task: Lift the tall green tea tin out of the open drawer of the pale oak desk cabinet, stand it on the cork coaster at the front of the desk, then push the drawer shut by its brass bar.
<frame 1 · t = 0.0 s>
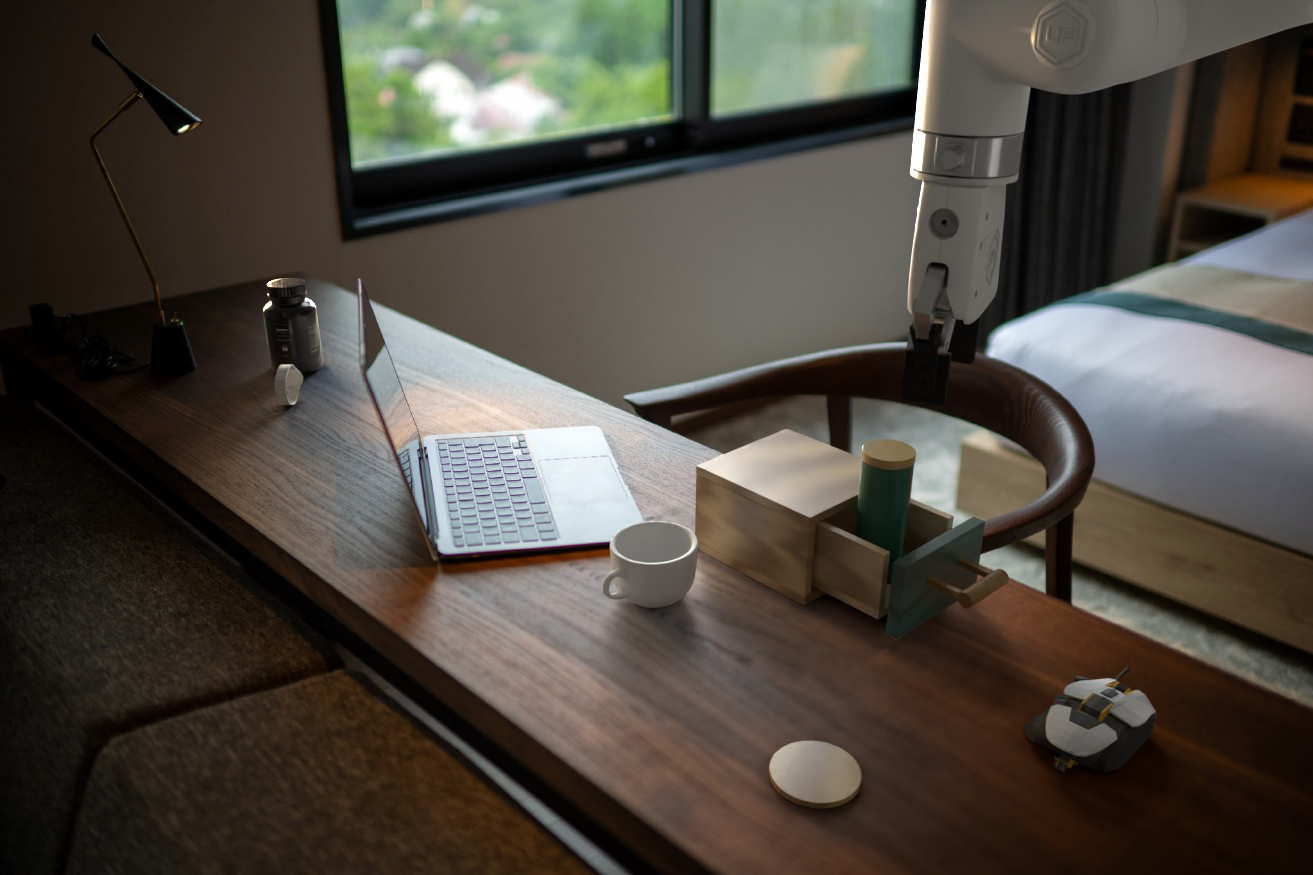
hand: (939, 380, 85), 22 cm above the table, tool pointing down, fingers open, 9 cm apart
cabinet: (792, 551, 105), on the table
drawer: (902, 560, 95), point 4 cm above the table, slide at 8.2 cm, touching tin
tin: (876, 572, 98), point 2 cm above the table, touching drawer
white thick rounded piece: (289, 405, 138), on the table
computer mouse: (1093, 729, 82), on the table
teacup: (645, 601, 98), on the table
supplement bottle: (298, 369, 150), on the table
coaster: (814, 776, 77), on the table
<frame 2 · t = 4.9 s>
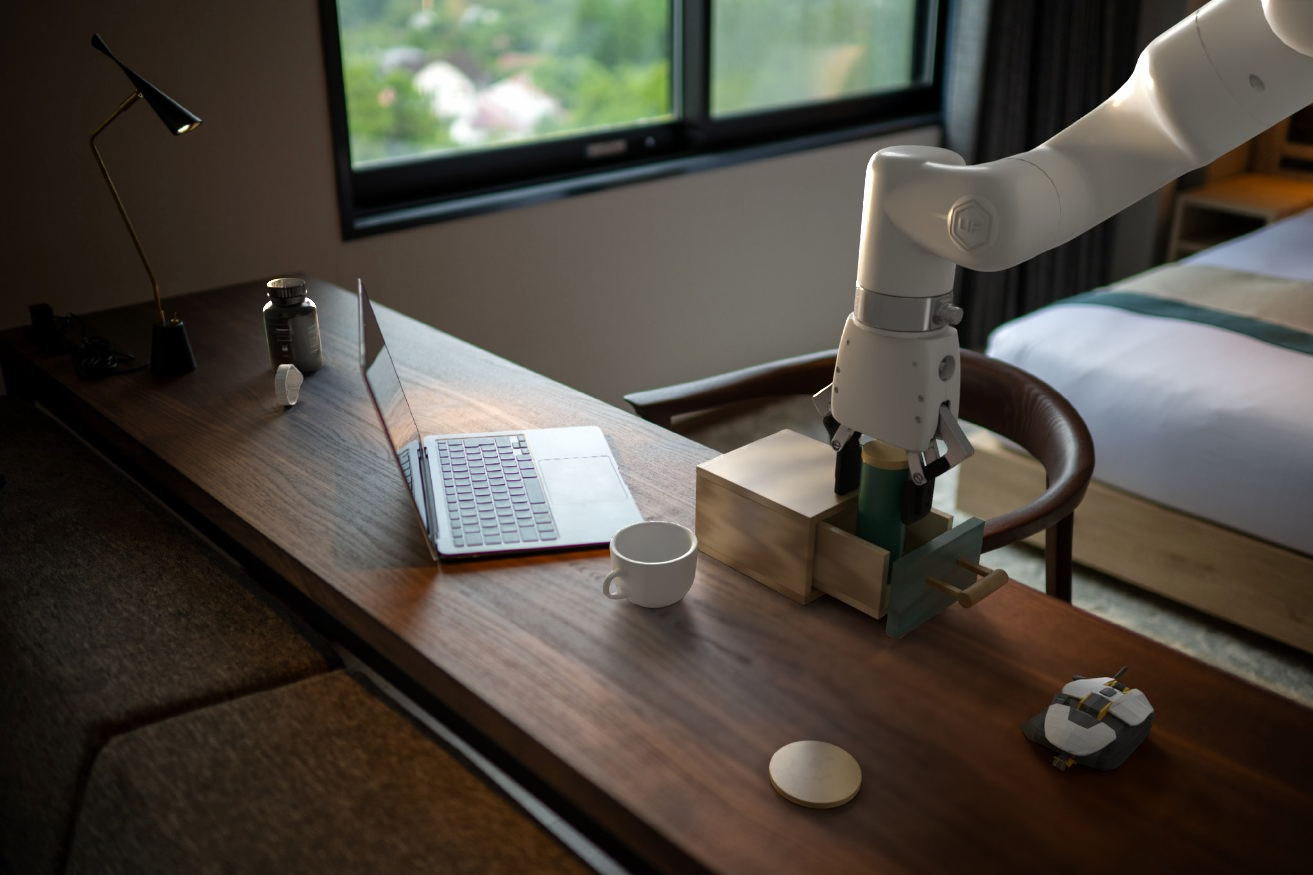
hand: (880, 502, 95), 9 cm above the table, tool pointing down, fingers open, 6 cm apart
nothing on the table moved.
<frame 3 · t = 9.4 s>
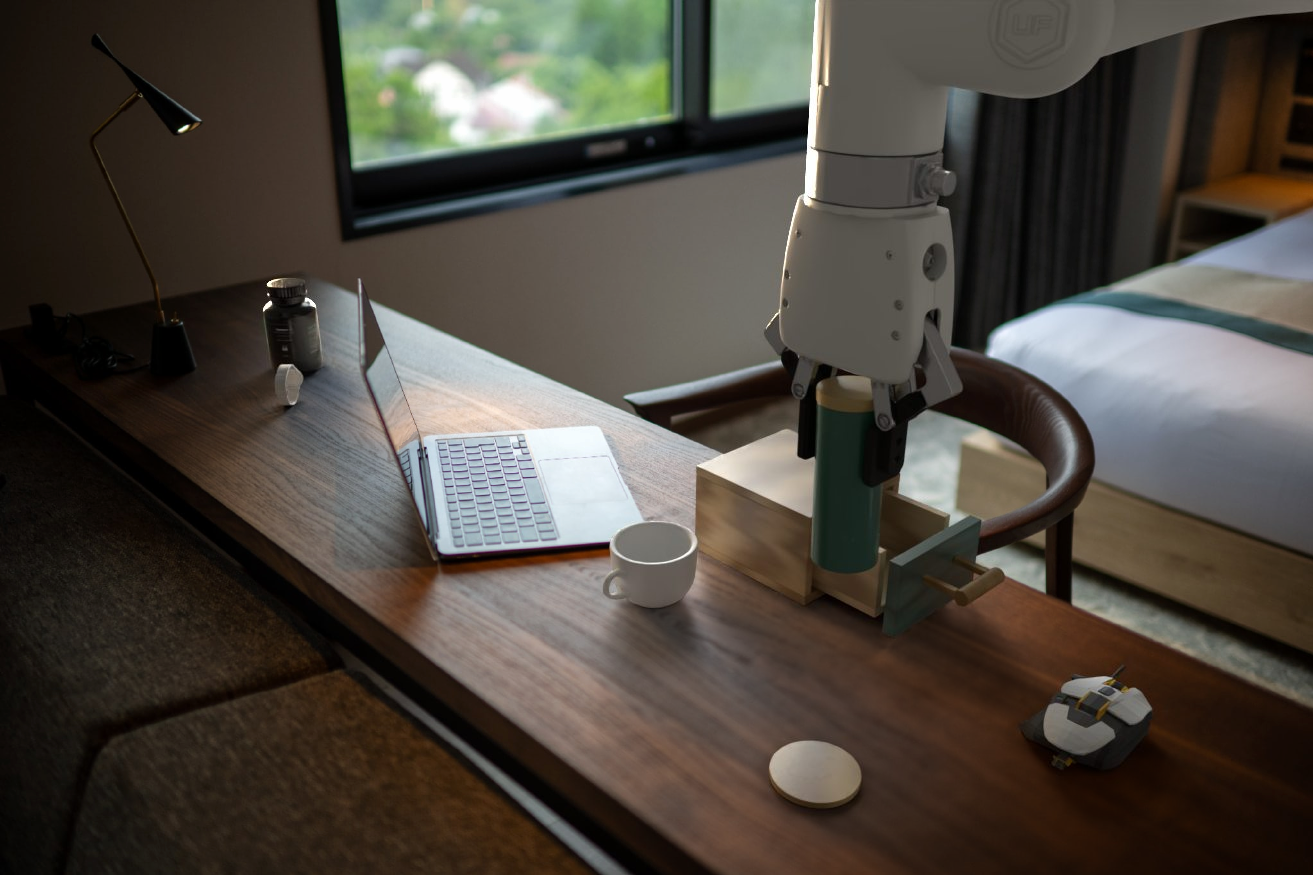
hand: (848, 463, 70), 23 cm above the table, tool pointing down, fingers closed on tin, 4 cm apart
drawer: (899, 559, 95), point 4 cm above the table, slide at 7.9 cm
tin: (844, 557, 73), point 16 cm above the table, touching gripper
everything else where it was.
when the fingers open (7 cm above the table, at t = 13.4 s): tin stays where it is, resting on coaster.
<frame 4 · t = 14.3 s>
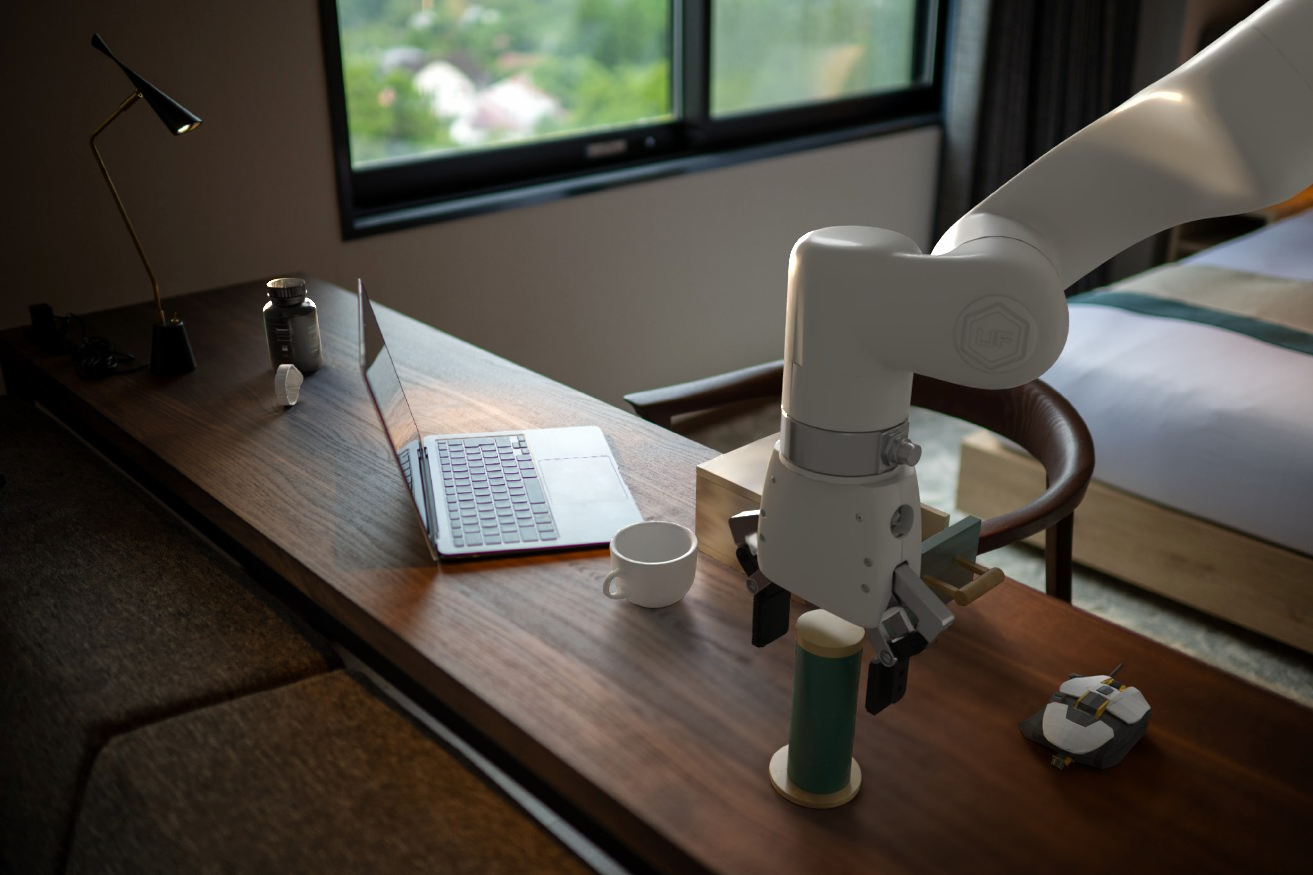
hand: (824, 670, 73), 9 cm above the table, tool pointing down, fingers open, 9 cm apart
tin: (818, 772, 76), resting on coaster
everything else where it was.
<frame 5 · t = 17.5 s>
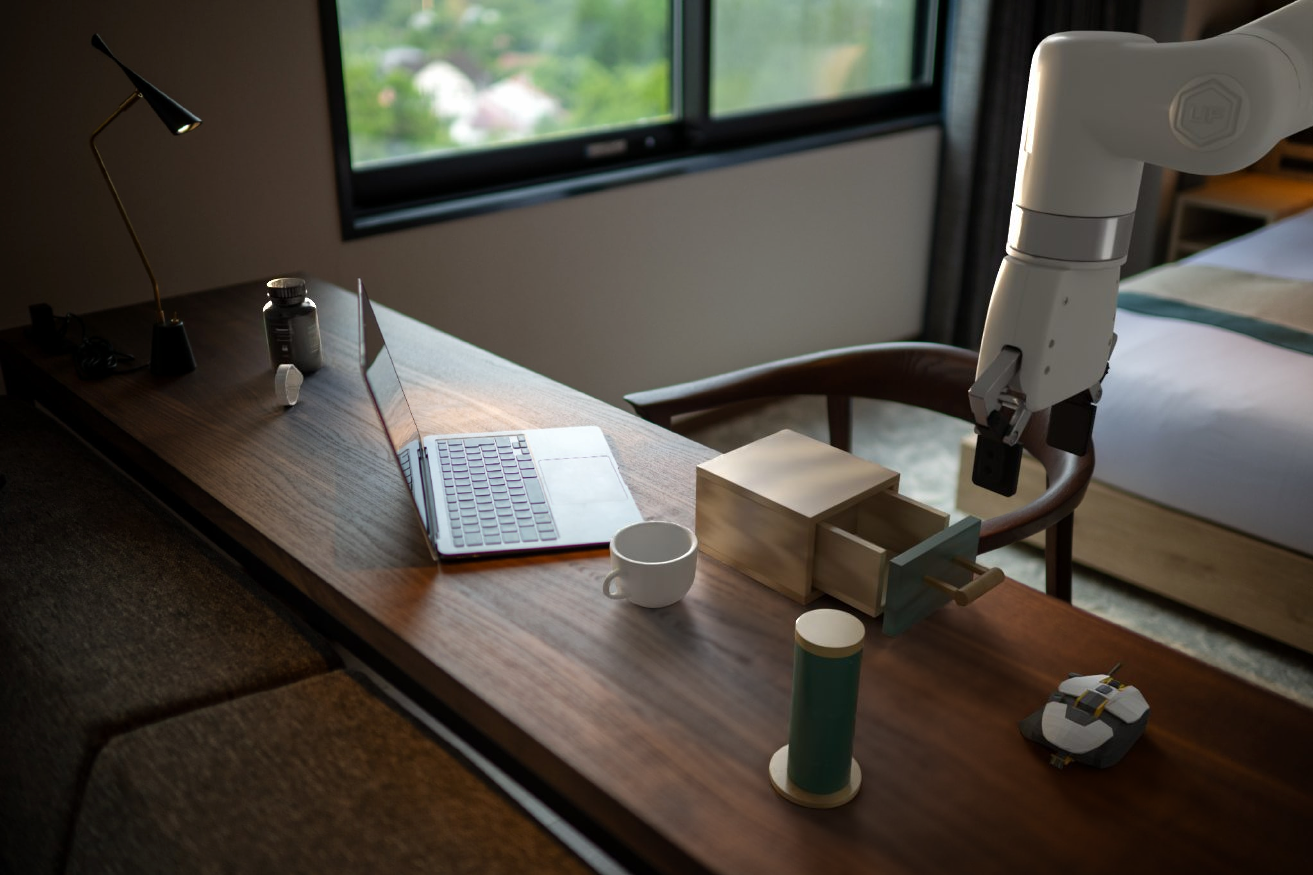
hand: (1031, 469, 79), 19 cm above the table, tool pointing down, fingers open, 9 cm apart
nothing on the table moved.
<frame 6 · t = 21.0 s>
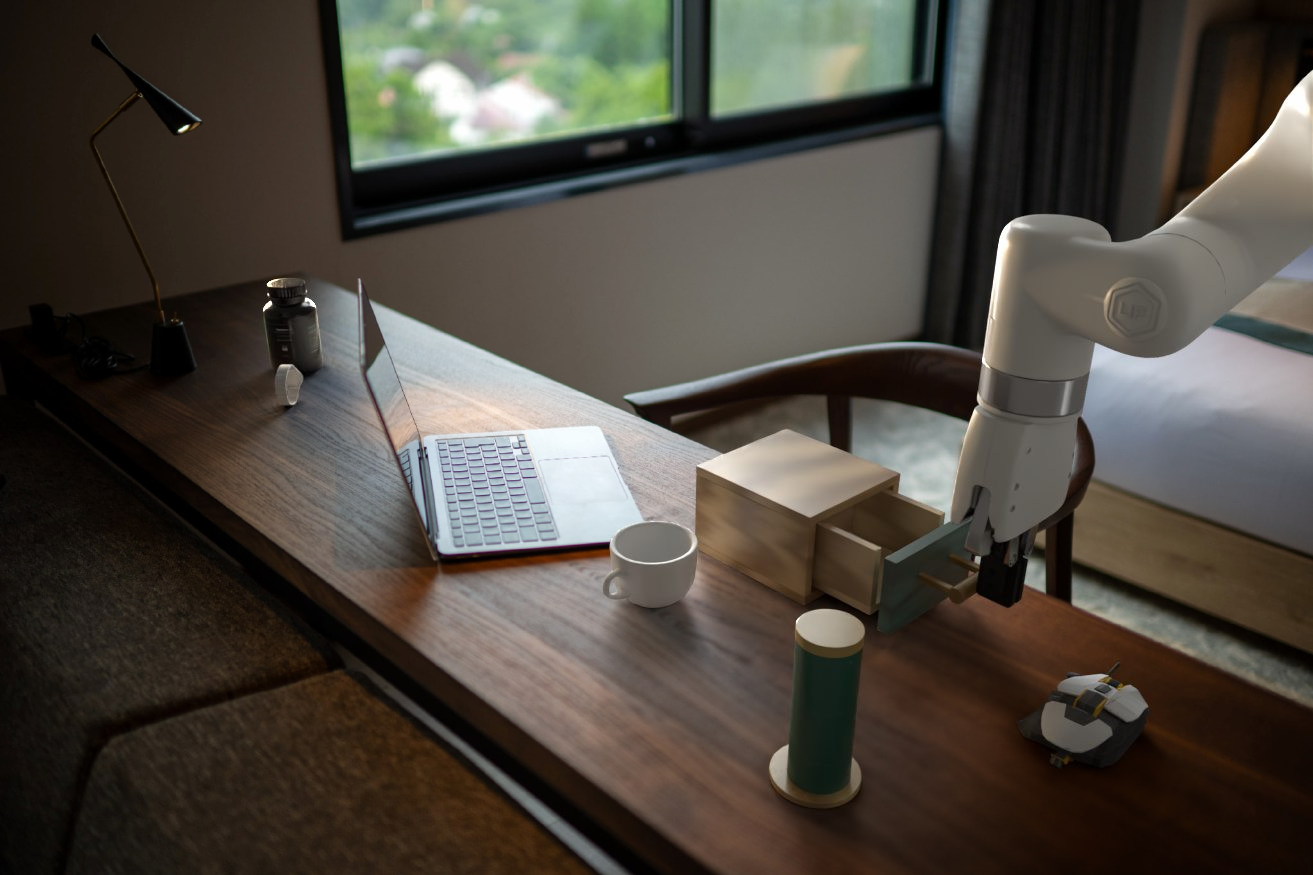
hand: (998, 597, 89), 5 cm above the table, tool pointing down, fingers closed
drawer: (894, 557, 96), point 4 cm above the table, slide at 7.3 cm
everything else where it was.
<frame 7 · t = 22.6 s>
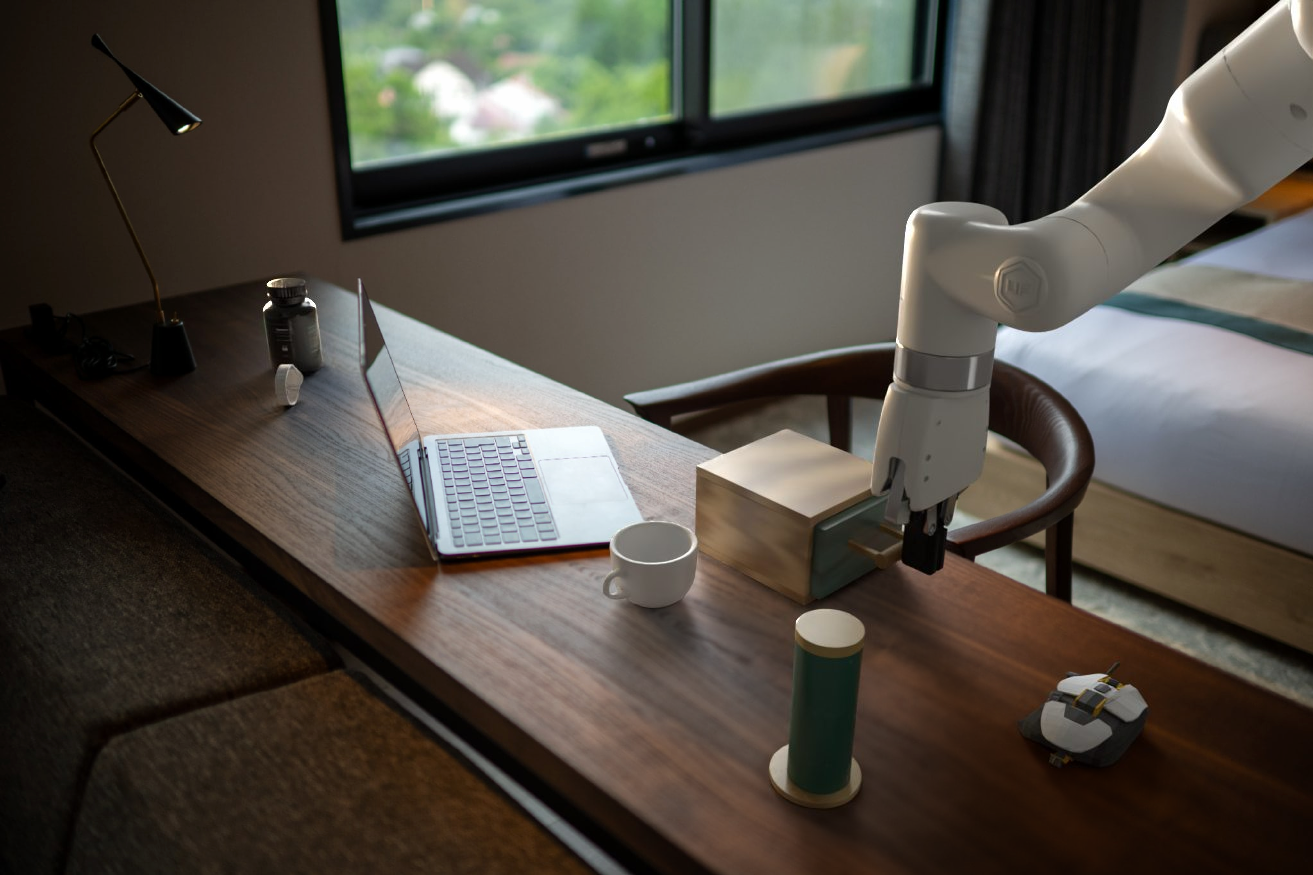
hand: (921, 566, 94), 5 cm above the table, tool pointing down, fingers closed
drawer: (828, 526, 101), point 4 cm above the table, slide at 0.0 cm, touching cabinet, gripper
everything else where it was.
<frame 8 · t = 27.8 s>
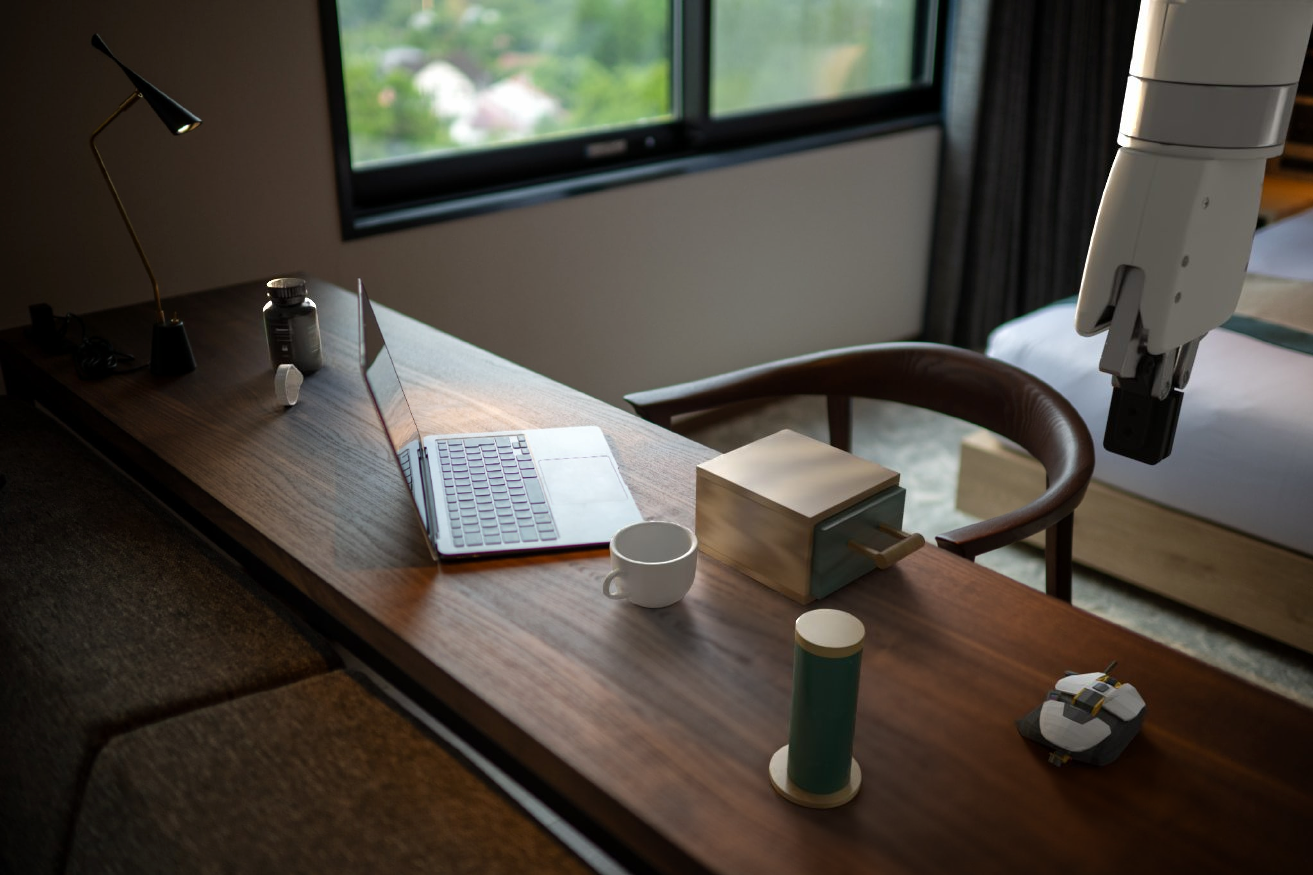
hand: (1135, 453, 62), 27 cm above the table, tool pointing down, fingers closed
drawer: (828, 526, 101), point 4 cm above the table, slide at 0.0 cm, touching cabinet
everything else where it was.
at the end: tin 0.3 cm off-centre on the coaster, point 0.5 cm above the coaster's base; tin tilted 0°; drawer slide at 0.0 cm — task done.
